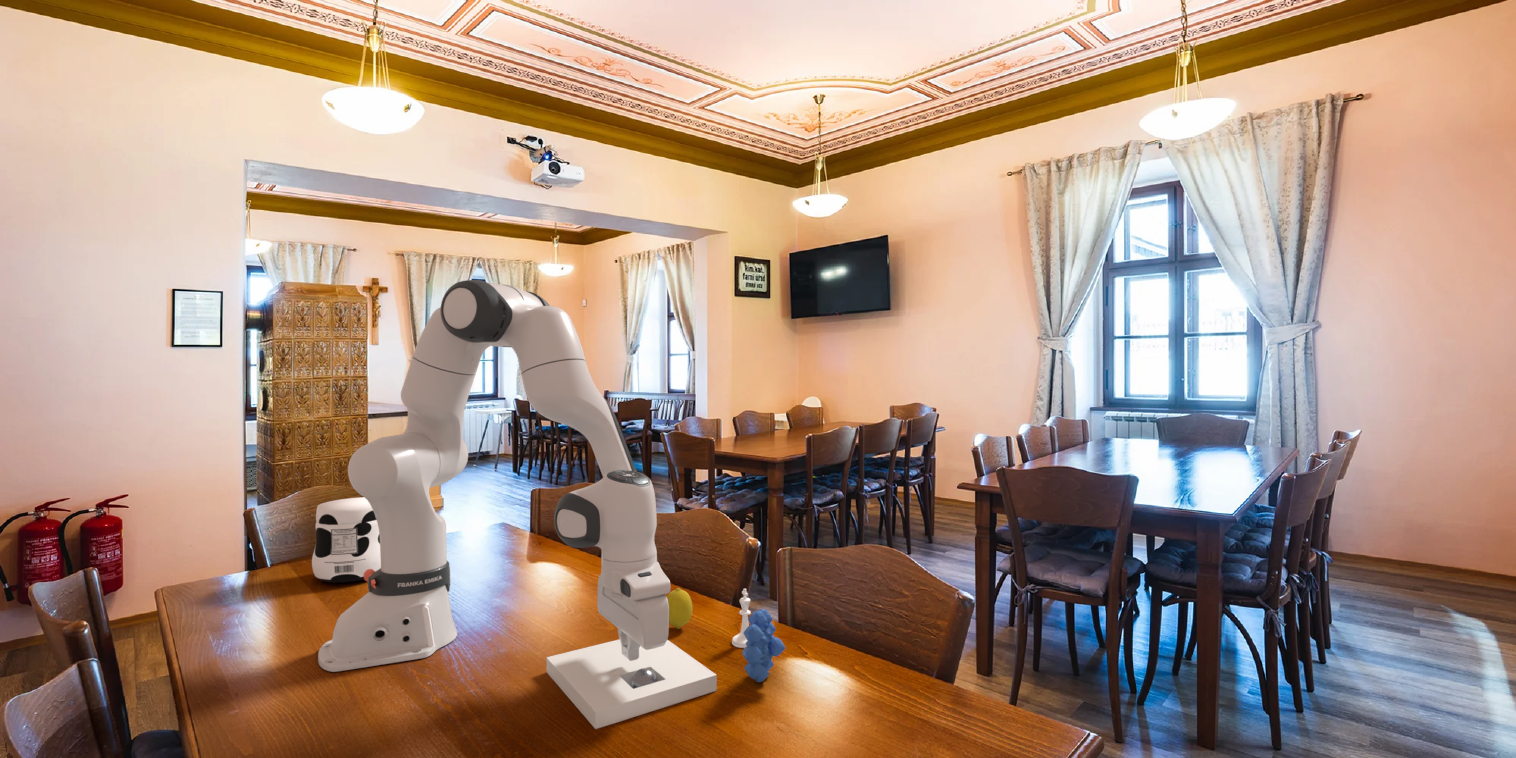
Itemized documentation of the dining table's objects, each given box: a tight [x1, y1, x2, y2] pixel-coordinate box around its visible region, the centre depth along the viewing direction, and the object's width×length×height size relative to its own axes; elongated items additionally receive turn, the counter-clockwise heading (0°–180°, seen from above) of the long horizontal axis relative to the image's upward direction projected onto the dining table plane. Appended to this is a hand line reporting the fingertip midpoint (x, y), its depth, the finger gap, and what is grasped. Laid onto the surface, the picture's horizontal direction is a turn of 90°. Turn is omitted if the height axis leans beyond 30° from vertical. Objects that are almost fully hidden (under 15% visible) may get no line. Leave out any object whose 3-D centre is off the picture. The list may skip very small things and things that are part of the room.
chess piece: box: [731, 588, 752, 649], centre depth 128 cm, size 5×5×10 cm
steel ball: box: [631, 668, 657, 689], centre depth 108 cm, size 4×4×4 cm
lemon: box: [666, 587, 693, 630], centre depth 135 cm, size 6×6×8 cm
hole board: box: [545, 638, 718, 730], centre depth 113 cm, size 20×22×2 cm
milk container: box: [311, 496, 381, 583], centre depth 168 cm, size 17×17×18 cm
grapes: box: [741, 608, 786, 683], centre depth 112 cm, size 12×7×12 cm, turn 164°
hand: (630, 657), depth 112 cm, fingers closed
